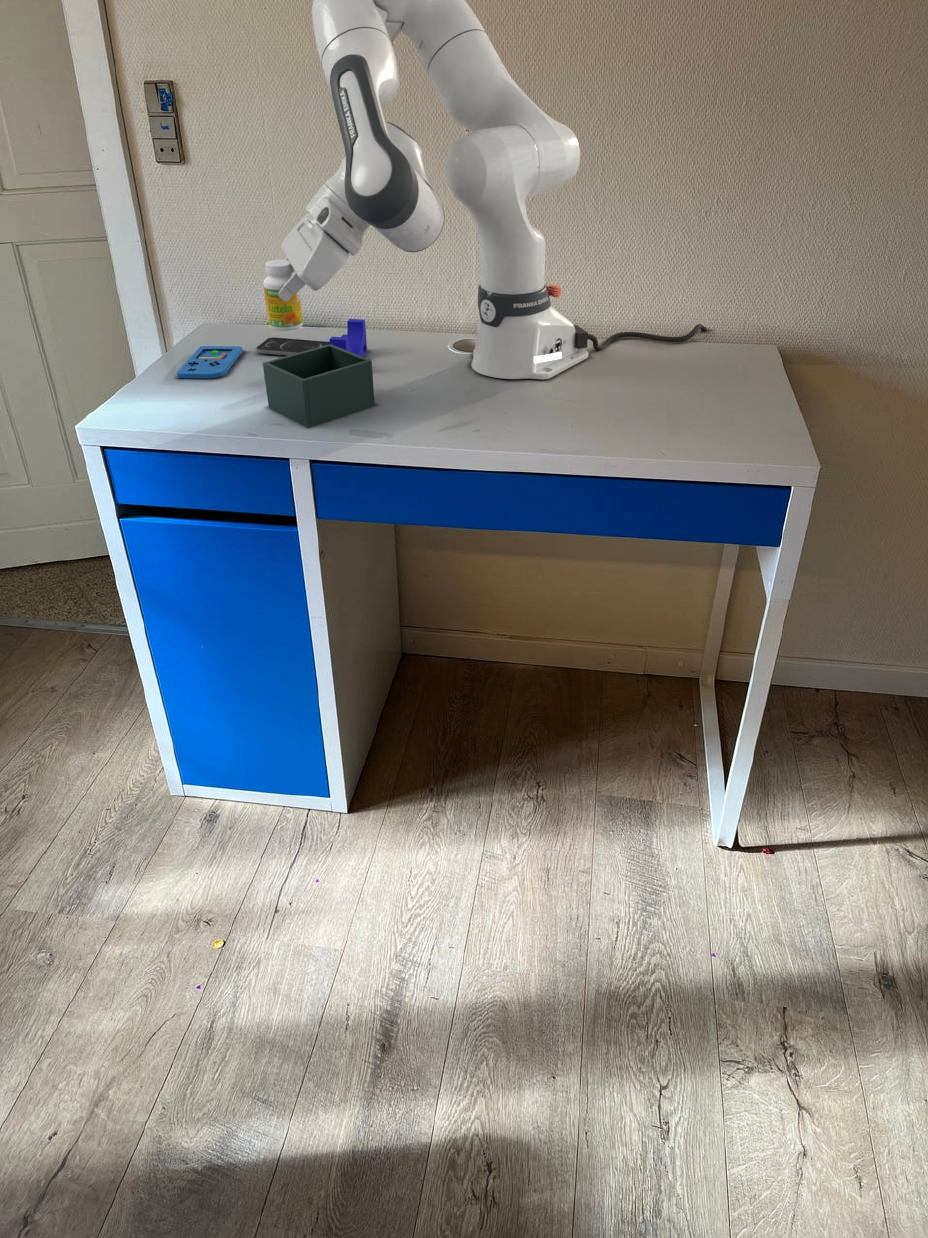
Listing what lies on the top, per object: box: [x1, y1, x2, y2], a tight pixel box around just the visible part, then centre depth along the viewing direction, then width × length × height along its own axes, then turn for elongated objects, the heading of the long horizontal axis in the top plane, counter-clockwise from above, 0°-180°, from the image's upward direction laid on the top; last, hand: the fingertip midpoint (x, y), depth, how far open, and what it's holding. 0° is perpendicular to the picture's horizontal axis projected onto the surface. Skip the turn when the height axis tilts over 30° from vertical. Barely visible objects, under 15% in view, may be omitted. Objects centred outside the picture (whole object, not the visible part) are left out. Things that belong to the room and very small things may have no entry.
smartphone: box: [255, 336, 330, 356], centre depth 177 cm, size 8×1×15 cm
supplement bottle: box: [263, 259, 304, 332], centre depth 145 cm, size 5×5×10 cm
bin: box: [262, 344, 376, 428], centre depth 152 cm, size 13×11×8 cm
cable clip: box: [328, 318, 368, 357], centre depth 171 cm, size 12×4×6 cm, turn 169°
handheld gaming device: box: [176, 345, 244, 379], centre depth 171 cm, size 8×1×15 cm
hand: (278, 291), depth 145 cm, fingers closed on supplement bottle, 5 cm apart
